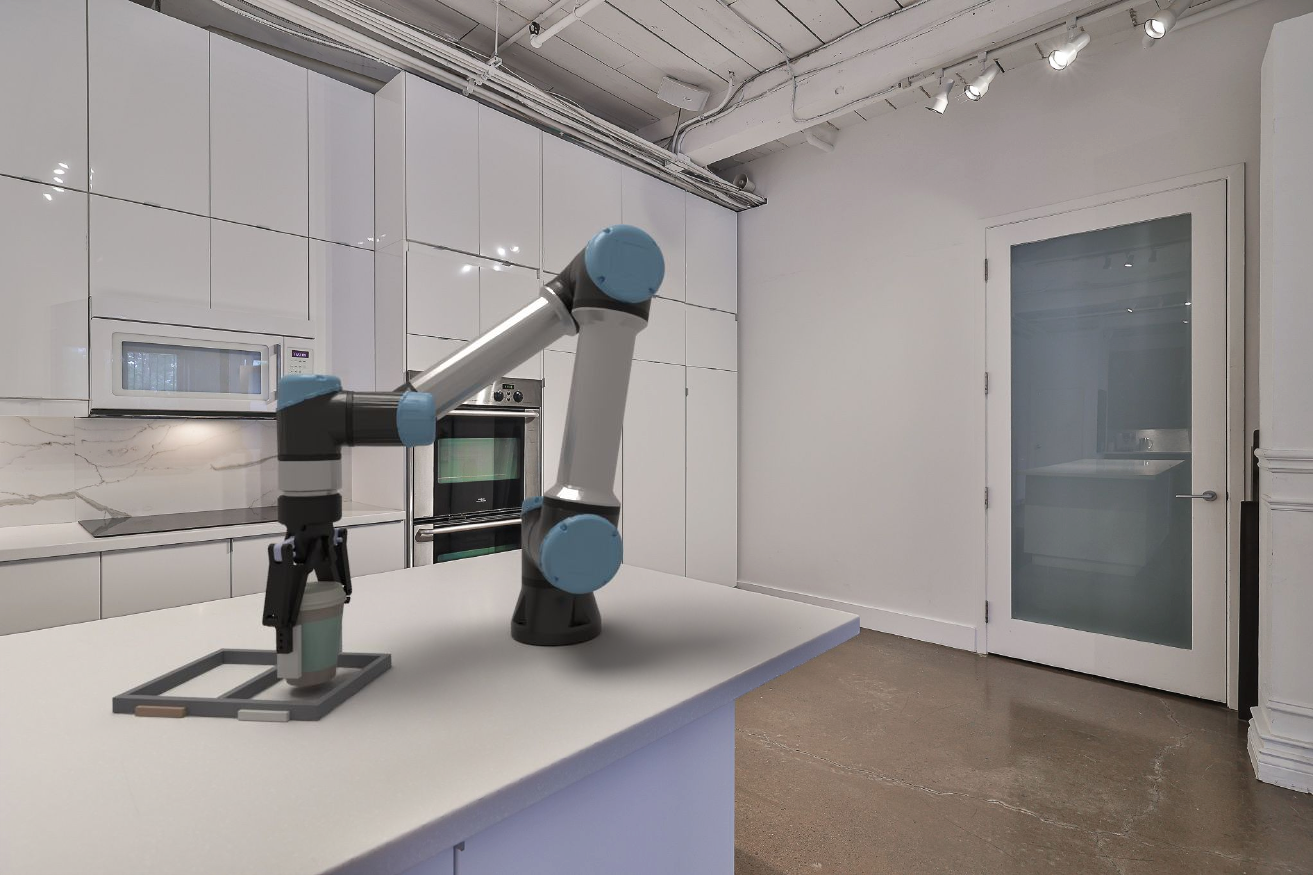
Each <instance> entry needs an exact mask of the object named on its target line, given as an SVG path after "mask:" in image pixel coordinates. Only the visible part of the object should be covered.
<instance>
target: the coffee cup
mask: <svg viewBox="0 0 1313 875" xmlns="http://www.w3.org/2000/svg"><path fill="white" fill-rule="evenodd" d="M343 587H344V585H342V584H341V583H338V582H327V581H318V580H317V581H316V580H315V581H307V583H306V587H305V591H304V595H303V599H302V603H301V607H300V611H299V615H298V619H297V623H296V625H301V655H302V676H301V677H300V678H298V679H295V678H285V679H286V680H285V681H286V684H288V685H289V686H293V687H308V686H309V687H310V686H315V685H319V684H323V683H325V682H328V681H331V680H332V679H333V678H335V677H336V675H337V669H338V667H337V661H338V653H339V644H340V635H341V626H342V627H343V617H344V616H343V614H344V608H345V607H344V606H345V604H344V601H346V599H347V598H346V596H345V595H346V593H345V592H344V590H343ZM288 617H289V615H288Z"/></svg>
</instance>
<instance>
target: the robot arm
mask: <svg viewBox="0 0 1313 875" xmlns="http://www.w3.org/2000/svg"><path fill="white" fill-rule="evenodd" d="M665 265H666V264H665V258H664V255H663V252H662V250H661V248H660V246H659V245H658V244H657V242H656V241H655V240H654V238H653V237H652V236H651V235H649V233H647V232H646V231H644V230H643V229H641V228H639V227H637V226H634V225H630V224H621V223H620V224H614V225H609V226H607V227H605V228H604V229H601V230H600V231H597V232H596V233H595V234H594V235H593V236H592V237H591V238H590V239H589V241H588V242H587V244H586V246H585V247H583V248H582V250H580V251H579V252H578V253H577V254H576V255H575V256H574V257H573V259H572V260H571V261H570V262H569V264H568V265H566V267H565V268H564V269H562V271H560V273H559V274H557V275H556V276H555V277H554V278H552V279H551V280H550V281H548V282H547V283H546V284H544V285H542V286H540V287H539V294H538V296H537V297H536V298H534V299H532V300H531V301H529V302H528V303H526V304H524V305H523V306H522V307H520V308H518V309H517V310H515V311H513V312H512V313H510V314H509V315H508V316H506V317H505V318H503V319H501V320H500V321H498V322H496V323H495V324H494V325H492V326H490V327H488V329H486V330H485V331H483V332H481V333H480V334H478V335H477V336H475V337H474V338H473V339H471V340H470V341H468V342H466V343H465V344H462V346H460V347H459V348H457V349H456V350H454V351H452V352H450V353H449V354H447V355H445V357H443V358H441V359H440V360H438V361H437V362H436V363H434V364H433V365H430V367H428V368H426V369H424V370H423V371H422V372H420V373H419V374H417V375H416V376H414V377H413V378H410V380H408V381H407V382H405V383H403V384H402V385H400V386H398V387H397V388H395V389H394V390H392V391H354V390H346V389H343V386H342V380H341V379H340V378H339V376H336V375H331V374H330V375H329V374H316V373H311V374H310V373H294V374H293V373H292V374H285V375H283V376H281V378H280V379H279V380H278V382H277V398H276V399H277V401H276V407H275V417H276V444H277V445H276V447H277V449H276V450H277V455H276V456H277V490H278V491H279V492H282V493H283V494H281V495H279V497H277V522H278V523H279V524H280V525H282V526H285V527H286V532H285V536H284V540H283V541H281V542H280V543H272V542H271V543H269V545H267V546H268V547H267V555H268V568H267V569H268V571H267V578H266V579H267V580H266V586H265V587H266V588H265V595H264V596H265V597H264V603H263V612H262V618H261V623H262V624H261V625H262V626H263V627H268V628H274V629H275V650H276V652H277V678H283V679H286V678H295V679H298V678H300V677H301V676H302V655H301V625H296V623H297V619H298V615H299V611H300V607H301V603H302V599H303V595H304V591H305V587H306V583H307V582H308V578H309V575H310V574H312V572H314V573H315V577H316V580H317V581H327V582H338V583H341V584H342V586H343V590H344V592H345V593H346V595H345V596H346V598H347V599H346V601H344V605H345V604H348V605H349V604H350V602H351V596H352V593H353V585H352V576H351V570H350V562H349V561H350V560H349V554H348V545H347V544H348V529H347V528H346V527H345V528H343V527H341V528H340V527H338V528H337V527H336V528H335V526H334V523H337V522H339V521H341V520H342V518H343V495H341V493H340V492H338V491H339V490H340V489H342V487H343V472H342V470H343V469H342V457H343V456H342V455H343V454H342V449H343V447H348V448H356V447H373V448H374V447H375V448H376V447H378V448H380V447H382V448H384V447H385V448H389V447H392V448H393V447H396V448H397V447H398V448H399V447H406V448H408V449H409V448H416V447H426V446H431V445H432V444H434V442H435V440H436V431H437V430H436V422H437V421H439V420H440V419H442V418H443V417H445V416H446V415H448V414H449V413H451V412H453V411H454V410H455V409H457V408H458V407H459V406H461V405H463V404H464V403H466V402H467V401H469V400H470V399H471V398H473V397H474V396H476V395H478V394H479V393H480V392H482V391H483V390H485V389H487V387H489V386H490V385H492V384H494V383H496V382H497V381H498V380H500V379H501V378H503V377H505V376H506V375H507V374H509V373H510V372H512V371H513V370H515V369H516V368H518V367H519V366H520V365H522V364H523V363H526V362H527V361H528V360H530V359H531V358H532V357H534V356H536V355H537V354H539V353H540V352H542V351H543V350H544V349H546V348H548V347H549V346H550V345H552V344H553V343H554V342H555V343H556V342H557V341H558V340H560V339H561V338H563V337H564V336H569V337H575V336H576V335H577V334H578V338H577V343H576V348H575V349H576V350H575V357H574V363H573V369H572V370H573V371H572V376H571V382H570V383H571V384H570V389H569V396H568V397H569V398H568V404H567V409H566V415H565V421H564V422H565V423H564V430H563V434H562V441H561V448H560V454H559V455H560V456H559V461H558V462H559V463H558V468H557V474H556V475H557V476H556V481H555V483H554V484H553V486H551V487H550V488H549V489H547V490H546V491H545V492H543V493H544V494H543V496H531V497H527V498H525V499H524V500H523V501H522V504H521V513H520V515H519V516H520V518H519V519H520V520H521V586H520V587H521V589H520V591H519V595H518V597H517V600H516V604H515V606H514V611H513V613H512V617H511V619H510V620H511V621H510V635H511V637H512V638H513V639H514V640H516V641H518V642H522V643H525V644H529V645H536V646H537V645H538V646H562V645H569V644H577V643H581V642H586V641H588V640H592V639H594V638H595V637H597V636H599V634H601V632H602V616H601V613H600V612H601V611H600V609H599V607H598V603H597V600H596V597H595V596H596V595H595V593H594V592H596V591H598V590H600V589H602V588H603V587H604V586H606V585H607V584H608V583H610V582H611V581H613V580H612V579H613V578H614V577H615V576H616V575H617V573H618V571H619V570H620V568H621V564H622V562H623V558H624V545H623V544H624V543H623V540H622V535H621V534H620V532H619V529H618V526H619V522H620V515H621V507H622V503H621V502H620V500H619V498H617V496H616V494H615V493H614V485H615V479H616V478H615V477H616V471H617V467H618V466H617V465H618V459H619V451H620V447H621V446H620V445H621V438H622V432H623V431H622V430H623V425H624V418H625V411H626V404H627V399H628V392H629V391H628V390H629V384H630V380H631V378H630V377H631V372H632V366H633V359H634V351H635V344H636V338H637V335H638V334H639V333H641V332H643V330H644V329H646V328H647V327H648V325H649V317H650V311H651V306H652V305H651V304H652V298H653V296H655V295H656V294H657V292H658V291H659V290H660V287H661V286H662V283H663V281H664V278H665V272H666V266H665ZM288 615H289V617H288ZM341 652H343V625H342V626H341V635H340V644H339V653H341Z"/></svg>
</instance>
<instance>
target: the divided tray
mask: <svg viewBox="0 0 1313 875" xmlns="http://www.w3.org/2000/svg"><path fill="white" fill-rule="evenodd" d="M222 664H235V665H236V664H237V665H238V664H240V665H241V664H242V665H243V664H244V665H249V664H250V665H265V666H266V665H268V666H269V665H271V666H272V667H270V668H269V669H266V670H265V671H263V672H261V673H259V674H257V675H256V676H254V677H252V678H250V679H248V680H246V681H245V682H243V683H241V684H239V685H237V686H235V687H234V688H232V689H230V690H228V691H226V692H224V693H223V694H221V695H219V696H217V697H202V696H201V697H198V696H197V697H195V696H174V695H173V696H172V695H171V696H170V695H169V696H168V695H161V694H162V693H164V692H166V691H168V690H172V689H173V688H175V687H177V686H178V685H181V684H183V683H186V682H187V681H189V680H191V679H193V678H195V677H197V676H199V675H202V674H203V673H205V672H208V671H209V670H212V669H214V668H217V667H218V666H220V665H222ZM391 667H392V653H385V652H384V653H381V652H380V653H376V652H352V651H351V652H348V651H346V652H345V651H342V652H341V653H338V661H337V668H360V670H358V671H356V673H354V674H352V675H351V676H350V677H349V678H347V679H346V680H344V681H343V682H341V683H339V685H337V686H336V687H334V688H332V689H331V690H329V691H328V692H326V693H325V694H324V695H322V696H321V697H320V698H318V699H317V700H315V701H307V700H306V701H301V700H277V699H276V700H275V699H274V700H273V699H253V698H252V697H254V696H256V695H258V694H259V693H261V692H262V691H263V692H264V691H265V690H266V689H268V688H269V687H271V686H273V685H276V684H277V683H278V682H279V681H281V680H284V678H277V652H276V649H258V648H257V649H254V648H220V649H218V650H215V651H212V652H211V653H209V654H206V655H204V656H202V657H200V658H198V659H197V658H196V659H195V660H193V661H191V662H189V663H186V664H184V665H182V666H179V667H177V668H175V669H173V670H171V671H168V672H167V673H164V674H161V675H160V676H157V677H155V678H153V679H151V680H148V681H146V682H144V683H142V684H140V685H137V686H135V687H134V688H133V687H132V688H131V689H128V690H126V691H124V692H122V693H120V694H117V695H115V696H113V697H112V698H111V700H112V701H111V702H112V708H111V710H112V713H115V714H116V713H118V714H134V716H135V717H158V718H177V719H178V718H179V719H181V718H185V717H189V716H190V717H191V716H192V717H216V718H218V717H219V718H237V720H238V721H255V722H257V721H258V722H277V723H278V722H280V723H287V722H289V721H309V722H310V721H314V722H318V721H320V720H321V719H322V718H324V717H325V716H326V715H328V714H329V713H330V712H332V711H333V710H334V709H336V708H337V707H339V706H340V705H341V704H343V703H344V702H345V701H347V700H348V699H350V698H351V697H352V696H353V695H355V694H356V693H357V692H359V691H360V690H362V689H363V688H365V686H367V685H368V684H369V683H371V682H372V681H374V680H375V679H376V678H377V677H379V676H380V675H381V674H383V673H384V672H386V671H387V670H388V669H390V668H391ZM251 698H252V699H251Z"/></svg>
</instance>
